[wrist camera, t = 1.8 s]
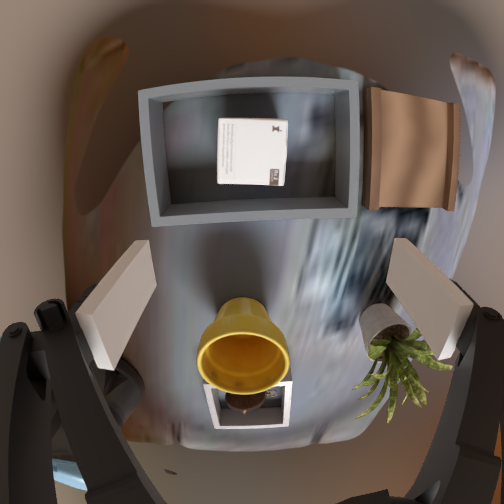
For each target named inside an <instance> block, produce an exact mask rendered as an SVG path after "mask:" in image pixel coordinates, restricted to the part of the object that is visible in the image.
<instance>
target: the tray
mask: <svg viewBox="0 0 504 504" xmlns="http://www.w3.org/2000/svg"><path fill="white" fill-rule="evenodd" d="M363 104H364V169H363V193H362V205H363V206H364V207H366V208H367V209H368V210H379V207H433V208H443V209H445V210H447V211H454V208H455V201H456V192H457V183H458V171H459V157H460V125H461V124H460V123H461V121H460V104H456V103H445V102H441V101H437V100H433V99H428V98H424V97H419V96H414V95H409V94H403V93H397V92H392V91H385V90H381V88H377V87H368V88H364V89H363Z"/></svg>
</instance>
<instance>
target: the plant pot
mask: <svg viewBox="0 0 504 504" xmlns="http://www.w3.org/2000/svg"><path fill="white" fill-rule="evenodd" d="M289 364H290V359H289V353H288V348H287V344H286V340H285V338H284V335H283V334H282V332H281V331H280V329H279V328H278V327H277V326H276V325H275V324H273V323H272V321H271V319H270V317H269V315H268V313H267V311H266V309H265V307H264V306H263V305H262V304H261V303H260V302H258V301H256V300H254V299H251V298H246V297H239V298H234V299H231V300H229V301H228V302H226V303H225V304H224V305H223V306H222V307H221V309H220V310H219V312H218V314H217V316H216V318H215V320H214V322H213V323H212V324H211V325H209V326H208V327H207V328H206V330H205V331H204V333H203V334H202V336H201V339H200V343H199V347H198V353H197V367H198V370H199V372H200V374H201V376H202V377H203V378H204V379H205V380H206V381H207V382H208V383H209V384H210V385H212V386H214V387H215V388H217V389H219V390H222V391H224V392H228V393H233V394H255V393H260V392H263V391H266V390H268V389H270V388H272V387H274V386H275V385H277V384H278V383H279V382H280V381H281V380H282V379H283V378H284V377H285V375H286V373H287V372H288V369H289Z"/></svg>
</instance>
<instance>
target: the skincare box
mask: <svg viewBox="0 0 504 504" xmlns="http://www.w3.org/2000/svg"><path fill="white" fill-rule="evenodd" d="M287 138H288V121H287V120H286V119H273V118H219V119H218V138H217V183H218V184H253V185H274V186H284V181H285V170H286V157H287Z"/></svg>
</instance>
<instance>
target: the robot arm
mask: <svg viewBox="0 0 504 504" xmlns="http://www.w3.org/2000/svg"><path fill="white" fill-rule="evenodd" d="M386 283H387V285H388V286H389V287H390V289H391V290H392V292H393V293H394V294H395V296H396V297H397V299H398V300H399V302H400V303H401V304H402V306H403V307H404V309H405V310H406V312H407V313H408V315H409V316H410V318H411V319H412V321H413V322H414V324H415V325H416V327H417V328H418V330H419V331H420V333H421V334H422V336H423V338H424V339H425V341H426V342H427V344H428V345H429V347H430V349H431V350H432V352H433V353H434V355H435V357H436V358H437V360H441V359H445V358H450V357H451V356H452V354H453V352H454V350H455V347H457V348H458V349H459V351H460V353H459V355H458V357H457V359H456V361H455V363H454V365H453V367H452V368H451V370H450V371H451V372H452V371H453V370H454V373H453V377H452V381H451V385H450V388H449V392H448V396H447V399H446V402H445V406H444V409H443V412H442V415H441V418H440V421H439V424H438V427H437V430H436V433H435V436H434V438H433V441H432V443H431V446H430V449H429V451H428V454H427V456H426V458H425V461H424V463H423V465H422V467H421V470H420V472H419V474H418V476H417V478H416V480H415V482H414V484H413V486H412V487H411V489H410V490H409V491H408V492H407V494H406V495H405V496H404V498H403V497H393V496H389V492H388V490H387V489H386V490H382V491H378V492H374V493H370V494H366V495H361V496H356V497H351V498H349V499H346V500H344V501H342V502H339V503H337V504H491V502H492V499H493V495H494V492H495V489H496V485H497V481H498V477H499V473H500V468H501V459H500V457H497V456H494V450H495V445H496V440H497V434H498V428H499V421H500V428H501V444H502V483H501V504H504V319H503V318H502V316H501V315H500V313H498V312H497V311H496V310H494V309H492V308H489V307H482V308H481V307H480V306H479V305H478V304H477V303H476V302H475V301H474V300H473V299H472V298H471V297H470V296H469V295H468V294H467V293H466V292H465V291H464V290H462V288H461V287H460V286H459V285H458V284H457V283H456V282H455V281H453V280H451V279H450V278H448V277H447V276H446V275H445V274H444V273H443V272H442V271H441V270H440V269H439V268H438V267H437V266H436V265H435V264H434V263H433V262H432V261H431V260H429V259H428V258H427V257H426V256H425V255H424V254H423V253H422V252H421V251H420V250H419V249H418V248H416V247H415V246H414V245H413V244H412V243H411V242H410V241H409V240H408V239H406V238H394V243H393V249H392V254H391V259H390V264H389V269H388V274H387V279H386ZM155 288H156V280H155V275H154V269H153V264H152V258H151V252H150V245H149V240H136V241H135V242H134V243H133V244H132V245H131V246H130V247H129V248H128V250H127V251H126V252H125V253H124V254H123V255H122V256H121V258H120V259H119V260H118V261H117V262H116V263H115V265H114V266H113V267H112V268H111V269H110V270H109V272H108V273H107V274H106V275H105V276H104V278H103V279H102V280H101V281H100V282H99V284H94V285H92V286H91V287H89V288H88V289H86V291H85V292H84V293H83V294H82V295H81V297H80V298H79V299H78V300H77V302H76V303H75V304H74V305H73V306H72V308H71V309H70V310H69V311H68V313H67V310H66V307H65V305H64V302H63V301H62V300H60V299H50V300H47V301H45V302H43V303H41V304H40V305H39V306H37V308H36V309H35V311H34V315H35V318H36V320H37V322H38V324H39V327H40V329H41V331H35V332H30V330H29V328H28V326H27V325H26V323H23V322H18V323H13V324H11V325H10V326H8V328H7V329H5V331H4V332H3V335H2V336H0V504H57V498H56V491H55V483H54V480H56V481H59V482H61V483H63V484H66V485H69V486H72V487H75V488H78V489H82V490H87V491H88V492H87V493H86V494H85V499H86V501H87V504H167V503H166V502H165V500H164V499H163V498H162V496H161V495H160V493H159V492H158V491H157V489H156V488H155V486H154V485H153V484H152V482H151V480H150V479H149V477H148V476H147V474H146V473H145V471H144V470H143V468H142V467H141V465H140V463H139V462H138V460H137V459H136V457H135V455H134V453H133V452H132V450H131V448H130V446H129V445H128V443H127V441H126V439H125V438H124V436H123V434H122V432H121V431H122V428H123V425H124V422H125V421H126V420H127V419H128V418H129V417H130V415H131V414H132V413H133V412H134V410H135V409H136V408H137V407H138V406H139V405H140V403H141V401H142V398H143V395H144V390H145V389H144V383H143V381H142V379H141V377H140V376H139V374H138V373H137V372H136V371H135V370H134V369H133V368H132V367H131V366H130V365H129V364H128V363H127V362H125V361H124V360H123V359H121V358H120V357H121V355H122V353H123V351H124V349H125V347H126V344H127V342H128V340H129V338H130V336H131V334H132V332H133V330H134V328H135V326H136V324H137V322H138V320H139V318H140V316H141V314H142V312H143V310H144V308H145V307H146V305H147V303H148V301H149V299H150V297H151V295H152V293H153V291H154V289H155Z"/></svg>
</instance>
